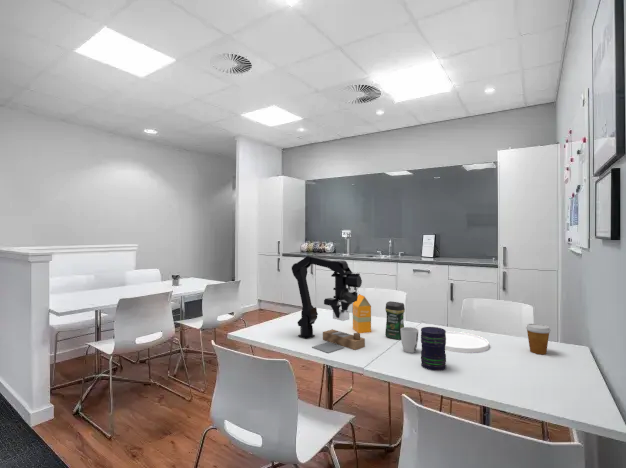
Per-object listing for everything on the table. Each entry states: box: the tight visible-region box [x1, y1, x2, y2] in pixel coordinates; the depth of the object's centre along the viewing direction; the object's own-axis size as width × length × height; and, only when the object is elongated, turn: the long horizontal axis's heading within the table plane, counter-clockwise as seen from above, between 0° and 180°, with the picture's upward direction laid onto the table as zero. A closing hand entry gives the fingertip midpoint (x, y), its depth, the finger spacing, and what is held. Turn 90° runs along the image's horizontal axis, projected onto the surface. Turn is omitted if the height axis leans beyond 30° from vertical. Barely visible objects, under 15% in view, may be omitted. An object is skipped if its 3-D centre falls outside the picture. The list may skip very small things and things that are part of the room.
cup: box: [400, 326, 419, 354], centre depth 163 cm, size 8×8×10 cm
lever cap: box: [332, 308, 350, 322], centre depth 176 cm, size 7×4×5 cm, turn 42°
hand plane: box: [322, 328, 366, 351], centre depth 176 cm, size 22×7×6 cm, turn 42°
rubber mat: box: [311, 341, 345, 354], centre depth 169 cm, size 11×11×1 cm
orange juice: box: [352, 293, 372, 334], centre depth 198 cm, size 8×9×20 cm
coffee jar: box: [385, 301, 405, 340], centre depth 185 cm, size 10×8×19 cm
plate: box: [445, 330, 490, 354], centre depth 174 cm, size 28×28×2 cm
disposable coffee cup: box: [525, 323, 551, 355], centre depth 161 cm, size 10×10×12 cm
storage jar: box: [420, 326, 447, 372], centre depth 145 cm, size 10×10×15 cm
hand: (341, 317), depth 176 cm, fingers closed on lever cap, 4 cm apart
